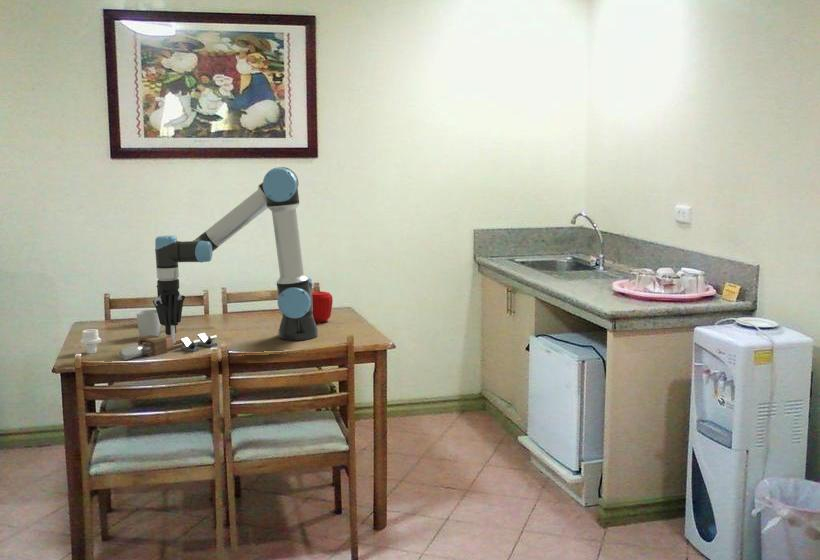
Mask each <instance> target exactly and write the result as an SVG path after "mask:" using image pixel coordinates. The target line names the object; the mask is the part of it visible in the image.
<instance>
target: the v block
mask: <svg viewBox="0 0 820 560" xmlns="http://www.w3.org/2000/svg"><path fill="white" fill-rule="evenodd" d="M196 337H197V338H198V339H195V340H192V341H191V340H190V339H189V338H188V337H187V336H186V337H184V338H180V339H179V340H180V341H181V342H182V343H181V344H183V345H184V346H182V347H180V348H179V349H180V351H185V352H189V353H190V352H191V353H196V352H195V351H197V352H200V351H202V347H205V346H207V347H206V348H215V347H218V342H214V341H215V339H217V338H218V336H217V335H216V334H215V335H211V336H207V334H206V333H205V332H203V333H199V334H197V335H196ZM200 345H202V346H201V347H200ZM214 346H215V347H214ZM199 350H200V351H199Z"/></svg>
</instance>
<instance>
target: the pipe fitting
mask: <svg viewBox="0 0 820 560" xmlns="http://www.w3.org/2000/svg"><path fill="white" fill-rule="evenodd" d="M81 332H82V338H81V339H79V341H80V344H82V345H86V346H85V347H86V349H85V350H86V354H88V355H93V354H96V353H97V344H99V343H101V342H102V339H101V338H100V337H99V330H98V329H97V328H96V329H95V328H92V329H90V328H89V329H85V330H82V331H81Z"/></svg>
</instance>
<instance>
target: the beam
mask: <svg viewBox="0 0 820 560" xmlns="http://www.w3.org/2000/svg"><path fill="white" fill-rule="evenodd" d="M165 337H166V336H154V335H146V336H142V337H141V336H139V337H137V345H141V344H143V342H146V341H148V342H153V352H150V353H147V355H146V357H152V356H158V355H163V354H167V353H168V352H170V351H171V352H172V351H174V350H178V349H180V347H182V346H184V345H183V344H182V342H181V341H180V340H181V339H178V340H176V343H174V344H173V347H169V348H167V343H166V338H165Z"/></svg>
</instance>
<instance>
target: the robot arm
mask: <svg viewBox="0 0 820 560" xmlns="http://www.w3.org/2000/svg"><path fill="white" fill-rule="evenodd" d="M299 205H300V197H299V178H298V176H297V174H296V172H294V171H293V169H290V168H289V167H285V166H281V167H279V166H277V167H274V168H271V169H270V170H269V171H268V172H267V173H265V175H264V178H263V180H262V182H261V183H260V184H258V186H257V190H256V191H254V192H253V193H252V194H251V195H249V196H248V197H247V198H246V199H244V200H242V202H240V203H239V204H238V205H236V207H234V208H233V209H231V210H230V211H229V212H228V213H226V214H225V215H224V216H223V217H222V218H220V219H219V220H218V221H216V222H215V223H214V224H213V225H210V227H209V228H208V229H207V230H205V231H204V232H202V233H201V234H200V235H199V236H198V237H196V238H195V239H193V240H192V241H186V240H185V241H180V240H178V238H177V236H176V235H161V236H156V237H155V241H154V242H155V243H154V244H155V247H154V248H155V249H154V251H155V263H156V278H157V281H156V282H157V283H156V288H157V287H158V290H159V294H158V293H157V298H156V299H153V301H152V304H153V305H154V307H155V310H157V314H158V318H159V321H160V324H161V325H162V326H164V330H165V331H166V332H165V335H166V337H172V338H173V344H174V343H176V341H177V340H176V334H177V326H178V325H179V323H180V322H181V320H182V314H183V313H182V312H183V306H184V301H185V299H186V296H185V295H182V294H180V291H179V289H180V279H179V277H180V274H179V270H180V269H179V263H207V262H211V261H212V258H213V252H214V251H215V250H217V249H218V248H219V247H220V246H221V245H223V244H224V243H225V242H227V241H228V240H230V238H232V237H234V235H236V234H237V233H238V232H240V230H242V229H244V228H245V226H247V225H248V224H250V223H251V222H252V221H254V219H256V218H258V216H260V215H261V214H262V213H264V212H265V211H266V210H267V209H269V211H270V212H271V213H272V214H271V216H272V222H273V223H272V225H273V230H274V231H273V232H274V239H275V246H276V248H275V249H276V254H277V262H278V270H279V271H278V272H279V278H278V279H277V280H276V289H277V302H276V303H277V307H278V309H279V311H280V313H281V315H282V318H281V321H280V324H279V329H278V334H277V335H278V338H279V339H282V340H286V341H287V340H288V341H303V340H310V339H311V340H312V339H314V338H317V337H318V335H319V329H318V327H317V324H316V322H315V321H314V318H313V299H312V292H313V286H314V285H313V280H312V277H310V276H306V275H305V273H304V266H303V258H302V249H301V248H302V247H301V241H300V231H299V224H298V215H297V214H298V213H297V208H298V207H299Z"/></svg>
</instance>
